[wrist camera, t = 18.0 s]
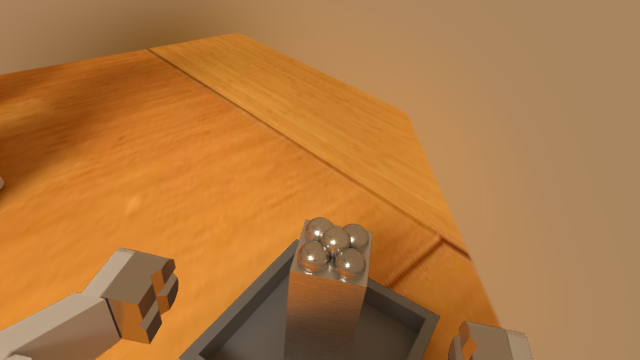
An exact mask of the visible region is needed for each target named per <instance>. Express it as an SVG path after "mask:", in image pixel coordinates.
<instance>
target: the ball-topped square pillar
mask: <svg viewBox="0 0 640 360" xmlns="http://www.w3.org/2000/svg"><path fill="white" fill-rule="evenodd" d="M371 242H372V232H368V231H366V230H365V229H364V228H363V227H362V226H360V225H358V224H349V225H346V226H344V227H342V226H337V225H333V224H332V222H331V221H329V220H328V219H326V218H322V217H318V218H314V219H312V220H305V223H304V227H303V230H302V233H301V236H300V239H299V243H298V246H297V249H296V252H295V256H294V259H293V262H292V265H291V268H290V274H289V288H288V302H287V315H286V329H285V343H284V357H283V360H348V357H349V353H350V349H351V345H352V341H353V338H354V334H355V330H356V326H357V322H358V318H359V315H360V311H361V307H362V303H363V299H364V296H365V292H366V288H367V280H368V271H369V261H370V251H371Z"/></svg>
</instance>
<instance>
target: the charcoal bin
mask: <svg viewBox="0 0 640 360" xmlns="http://www.w3.org/2000/svg"><path fill="white" fill-rule="evenodd" d="M298 243H299V240H298V239H296V240H295V241H294V242H293V243H292V244H291V245H290V246H289V247H288V248H287V249H286V250H285V251H284V252H283V253H282V254H281V255H280V256H279V257H278V258H277V259H276V260H275V261H274V262H273V263H272V264H271V265H270V266H269V267H268V268H267V269H266V270H265V271H264V272H263V273H262V274H261V275H260V276H259V277H258V278H257V279H256V280H255V281H254V282H253V283H252V284H251V285H250V286H249V287H248V288H247V289H246V290H245V291H244V292H243V293H242V294H241V296H240V297H239V298H238V299H237V300H236V301H235V302H234V303H233V304H232V305H231V306H230V307H229V308H228V309H227V310H226V311H225V312H224V313H223V314H222V315H221V316H220V317H219V318H218V319H217V320H216V321H215V322H214V323H213V324H212V325H211V326H210V327H209V328H208V329H207V330H206V331H205V332H204V333H203V334H202V335H201V336H200V337H199V338H198V339H197V340H196V341H195V342H194V343H193V344H192V345H191V346H190V347H189V348H188V349H187V350H186V351H185V352H184V353H183V354H182V355H181V356H180V357H179V358H180V360H283V357H284V343H285V329H286V315H287V302H288V288H289V274H290V268H291V265H292V262H293V259H294V256H295V252H296V249H297V246H298ZM439 318H440V316H438V315H437V314H435V313H433V312H431V311H429V310H427V309H426V308H424V307H422V306H420V305H418V304H416V303H414V302H413V301H411V300H409V299H407V298H405V297H403V296H401V295H400V294H398V293H396V292H394V291H392V290H390V289H388V288H387V287H385V286H383V285H381V284H379V283H377V282H375V281H374V280H372V279H370V278H368V280H367V288H366V292H365V296H364V299H363V303H362V307H361V311H360V315H359V318H358V322H357V326H356V330H355V334H354V338H353V341H352V345H351V349H350V353H349V357H348V360H421V358H422V356H423V354H424V352H425V349H426V347H427V345H428V343H429V340H430V338H431V336H432V334H433V331H434V329H435V327H436V324H437V322H438V320H439Z"/></svg>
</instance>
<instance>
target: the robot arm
mask: <svg viewBox="0 0 640 360" xmlns="http://www.w3.org/2000/svg"><path fill="white" fill-rule="evenodd" d="M3 186H4V181H3V179H2V178H1V176H0V189H1V188H2V187H3ZM175 268H176V267H175V263H174V260H173V259H169V258H165V257H161V256H156V255H152V254H148V253H144V252H140V251H135V250H131V249H126V248H120V249H119V250H117V251H116V252H115V253H114V254H113V255H112V256H111V257H110V259H109V260H108V261H107V262H106V264H105V265H104V266H103V267H102V268H101V270H100V271H99V272H98V273H97V275H96V276H95V277H94V278H93V279H92V281H91V282H90V283H89V284H88V286H87V287H86V288H85V289H84V290H83V292H82V293H78V292H76V293H74V294H72V295H70V296H68V297H66V298H64V299H62V300H60V301H58V302H56V303H54V304H52V305H50V306H48V307H46V308H45V309H43V310H41V311H39V312H37V313H35V314H33V315H31V316H29V317H27V318H25V319H23V320H21V321H19V322H17V323H15V324H13V325H11V326H10V327H8V328H6V329H4V330H2V331H0V360H95V359H96V358H97V357H99V356H100V355H101V354H103V353H104V352H105V351H107V350H108V349H110V348H111V347H112V346H114V345H115V344H116V343H118V342H119V341H120V338H121V339H126V340H131V341H136V342H141V343H146V344H150V343H151V341H152V340H153V338H154V336H155V334H156V333H157V331H158V329H159V328H160V326H161V324H162V320H161V315H162V314H163V313H165V312H167V311H168V310H170V308H171V306H172V304H173V303H174V301H175V298H176V295H177V292H178V278H177V276H176V275H175V274H174V273H173V271H174V269H175ZM459 332H460V335H458V336H456V337H454V338H453V340H452V342H451V344H450V349H449V354H448V360H533V358H532V355H531V351H530V347H529V344H528V340H527V337H526V336H525V334H524V333H521V332H516V331H511V330H506V329H502V328H499V327H494V326H489V325H484V324H479V323H474V322H469V321H464V322H462V324H461V326H460V327H459Z"/></svg>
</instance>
